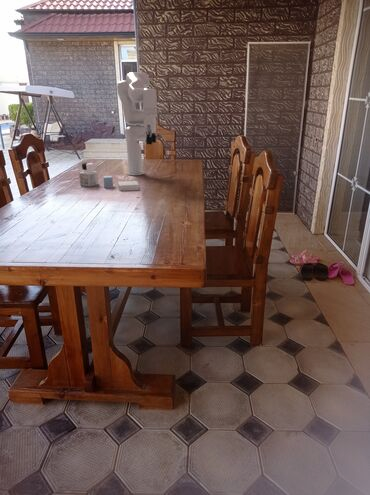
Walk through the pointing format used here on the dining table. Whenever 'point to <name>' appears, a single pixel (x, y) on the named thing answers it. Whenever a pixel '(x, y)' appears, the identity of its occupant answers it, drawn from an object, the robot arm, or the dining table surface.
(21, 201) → the dining table surface
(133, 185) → the base tile
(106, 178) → the blue block
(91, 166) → the container
